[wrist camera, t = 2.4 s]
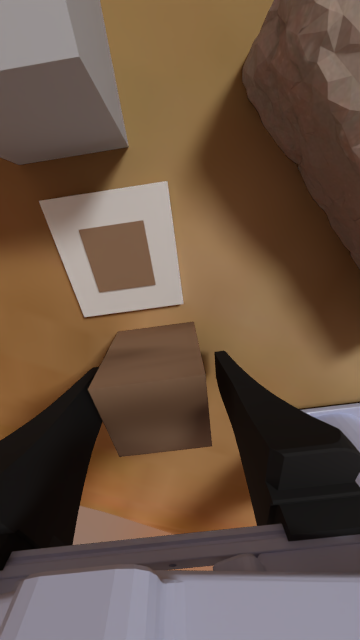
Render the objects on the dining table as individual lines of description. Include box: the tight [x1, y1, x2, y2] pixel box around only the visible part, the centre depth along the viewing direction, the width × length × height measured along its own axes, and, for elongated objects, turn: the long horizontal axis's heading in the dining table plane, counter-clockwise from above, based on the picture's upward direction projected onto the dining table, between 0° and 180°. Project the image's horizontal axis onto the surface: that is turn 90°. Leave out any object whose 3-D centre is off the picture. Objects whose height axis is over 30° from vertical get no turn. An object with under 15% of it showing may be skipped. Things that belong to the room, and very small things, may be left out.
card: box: [39, 181, 183, 317], centre depth 10 cm, size 6×6×1 cm
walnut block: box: [88, 322, 212, 457], centre depth 11 cm, size 5×5×5 cm
